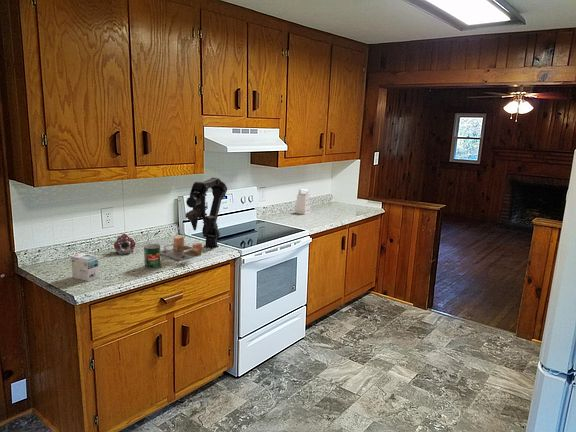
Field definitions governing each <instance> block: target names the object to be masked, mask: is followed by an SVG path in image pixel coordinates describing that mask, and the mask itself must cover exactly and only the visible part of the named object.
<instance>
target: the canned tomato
mask: <svg viewBox="0 0 576 432" xmlns="http://www.w3.org/2000/svg"><path fill="white" fill-rule="evenodd" d="M160 251H161V245H160V244H157V243H149V244H145V245H143V253H144V254H143V257H144V260H143V261H144V268H145V269H146V270H157V269H159V268H161V267H162V266H161V263H162V262H161V255H160Z"/></svg>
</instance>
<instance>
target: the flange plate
mask: <svg viewBox="0 0 576 432" xmlns="http://www.w3.org/2000/svg"><path fill="white" fill-rule="evenodd" d="M160 257H165V258H168V259H170V260H174V261H178V262H183V261H185V260H190V259H192V256H191V255H190V254H185V256H183V252H182V253H181V252H179V251H176V250H175V251H174V250H171V249H167V248H166V251H164V249H163V250H160Z"/></svg>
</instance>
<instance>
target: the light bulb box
mask: <svg viewBox="0 0 576 432" xmlns="http://www.w3.org/2000/svg"><path fill="white" fill-rule="evenodd" d="M70 259H71V260H70V262H71V275H72V278H73V279H77V280H82V281H86V282H91V281H94V280H97V279H98V278H100V276H101V275H100V262H99V261H100V260H99V255H94V254H91V253H84V252H80V253H76V254H72V255H70Z"/></svg>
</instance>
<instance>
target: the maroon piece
mask: <svg viewBox="0 0 576 432" xmlns="http://www.w3.org/2000/svg"><path fill="white" fill-rule="evenodd" d="M113 247H114V250H115V251H116V252H117V253H118V255H121V256H124V255H130V254H136V251H135V248H136V242H135V241H134V240H133V239H132V238H131V237H130V236H129V235H127V234H126V233H122V234H121V235H118V236H117V238H116V241H115V242H114V244H113Z"/></svg>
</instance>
